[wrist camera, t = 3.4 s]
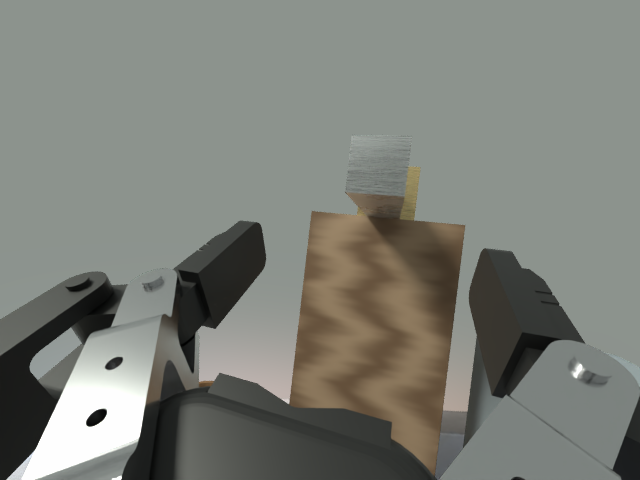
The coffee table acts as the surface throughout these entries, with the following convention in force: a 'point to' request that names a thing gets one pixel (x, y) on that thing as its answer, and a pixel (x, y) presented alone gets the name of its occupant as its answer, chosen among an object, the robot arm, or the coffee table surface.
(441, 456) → the coffee table surface
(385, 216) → the wood and metal block
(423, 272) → the tall stand
